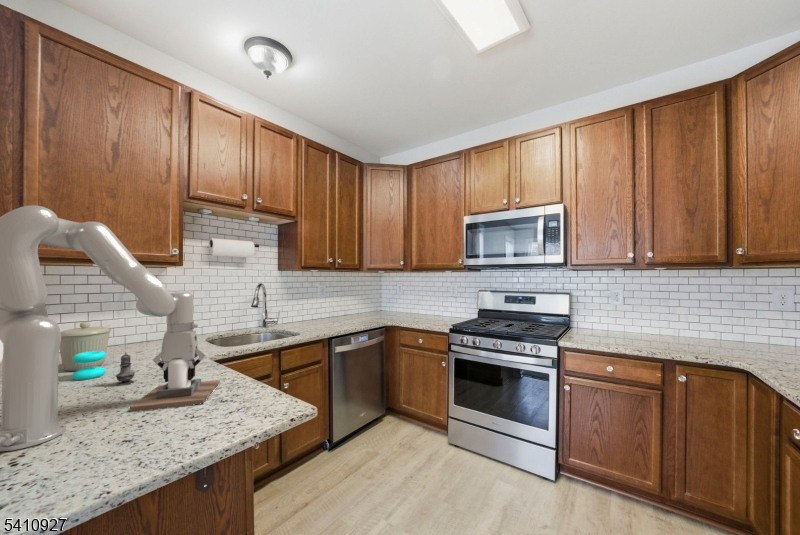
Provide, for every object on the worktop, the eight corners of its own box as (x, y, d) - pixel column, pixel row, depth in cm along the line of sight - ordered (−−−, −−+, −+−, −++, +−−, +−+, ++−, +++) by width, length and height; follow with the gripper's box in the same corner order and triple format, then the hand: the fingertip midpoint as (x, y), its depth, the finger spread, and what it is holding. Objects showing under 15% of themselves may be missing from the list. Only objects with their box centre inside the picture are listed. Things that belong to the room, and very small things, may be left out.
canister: (71, 364, 151) (71, 320, 151) (118, 360, 157) (119, 318, 158) (44, 376, 134) (45, 325, 135) (99, 371, 140) (99, 323, 141)
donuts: (103, 353, 131) (69, 357, 126) (102, 378, 131) (68, 382, 125) (108, 349, 140) (76, 352, 134) (108, 372, 139) (76, 376, 134)
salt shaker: (123, 386, 121) (123, 354, 121) (111, 385, 122) (111, 353, 122) (139, 381, 126) (139, 351, 127) (127, 380, 128) (127, 350, 128)
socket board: (203, 404, 103) (203, 391, 103) (129, 411, 98) (129, 398, 98) (219, 384, 122) (219, 373, 123) (159, 389, 117) (159, 378, 117)
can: (174, 396, 106) (174, 360, 106) (163, 393, 109) (164, 358, 109) (194, 390, 111) (194, 356, 112) (184, 387, 114) (184, 354, 115)
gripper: (211, 325, 117) (210, 374, 116) (156, 327, 112) (155, 379, 111) (204, 328, 109) (204, 381, 109) (145, 331, 105) (144, 386, 104)
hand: (179, 379), depth 110 cm, fingers closed on can, 6 cm apart
